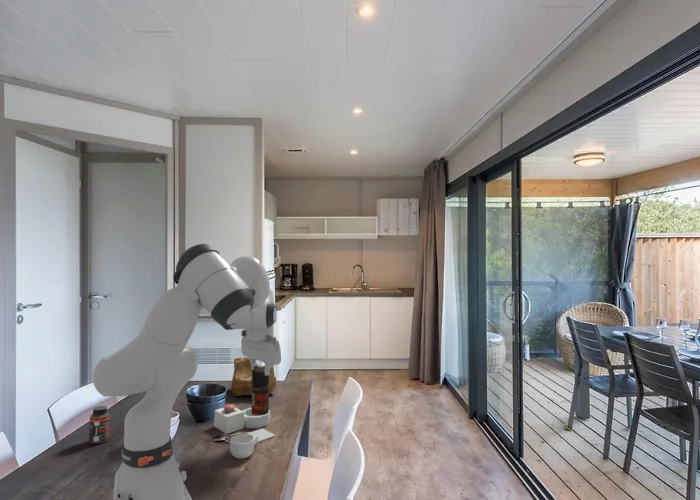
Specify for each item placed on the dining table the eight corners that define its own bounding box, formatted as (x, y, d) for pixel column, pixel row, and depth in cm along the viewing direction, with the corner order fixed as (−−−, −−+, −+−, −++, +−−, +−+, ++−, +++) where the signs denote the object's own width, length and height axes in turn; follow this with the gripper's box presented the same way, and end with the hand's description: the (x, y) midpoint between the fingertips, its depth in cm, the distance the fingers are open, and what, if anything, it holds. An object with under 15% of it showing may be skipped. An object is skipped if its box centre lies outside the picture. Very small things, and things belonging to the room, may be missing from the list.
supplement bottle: (99, 445, 139) (100, 411, 139) (84, 443, 140) (85, 410, 140) (113, 438, 144) (114, 405, 144) (98, 436, 146) (99, 403, 146)
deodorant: (248, 413, 146) (248, 370, 146) (258, 407, 152) (259, 366, 152) (261, 416, 144) (262, 373, 144) (272, 410, 149) (272, 368, 149)
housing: (274, 422, 159) (274, 407, 159) (231, 437, 146) (231, 420, 146) (256, 413, 168) (256, 398, 168) (214, 426, 155) (214, 410, 155)
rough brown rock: (215, 396, 190) (215, 364, 189) (242, 383, 204) (241, 353, 203) (254, 407, 179) (254, 373, 177) (279, 393, 193) (279, 362, 192)
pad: (275, 436, 148) (275, 435, 148) (255, 443, 142) (255, 442, 142) (262, 429, 153) (262, 428, 153) (243, 435, 148) (243, 434, 148)
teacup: (239, 464, 128) (240, 446, 128) (224, 456, 133) (225, 439, 133) (264, 452, 136) (265, 435, 136) (249, 445, 141) (250, 429, 141)
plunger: (236, 421, 155) (236, 406, 155) (226, 425, 152) (227, 409, 152) (231, 418, 157) (231, 403, 158) (221, 421, 155) (221, 406, 155)
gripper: (286, 336, 143) (285, 377, 143) (253, 328, 157) (252, 365, 157) (270, 339, 138) (269, 381, 138) (238, 330, 153) (237, 368, 153)
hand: (260, 372), depth 148 cm, fingers closed on deodorant, 6 cm apart
